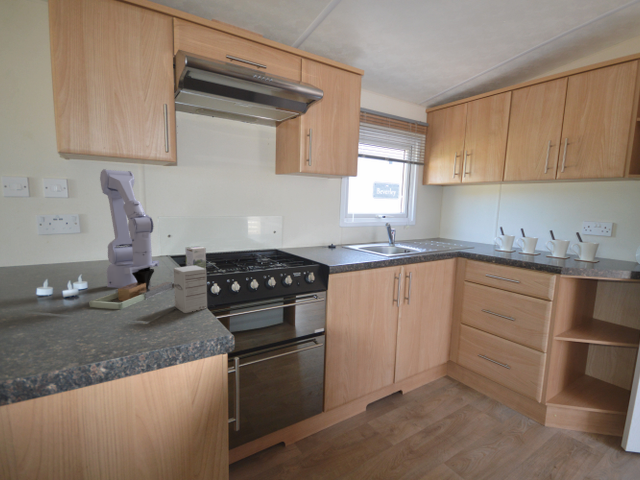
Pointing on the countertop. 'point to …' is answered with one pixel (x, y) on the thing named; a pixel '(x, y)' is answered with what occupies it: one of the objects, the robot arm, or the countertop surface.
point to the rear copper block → (139, 286)
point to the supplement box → (190, 288)
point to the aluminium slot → (155, 289)
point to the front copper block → (127, 292)
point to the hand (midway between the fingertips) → (144, 290)
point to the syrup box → (196, 256)
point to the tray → (112, 305)
